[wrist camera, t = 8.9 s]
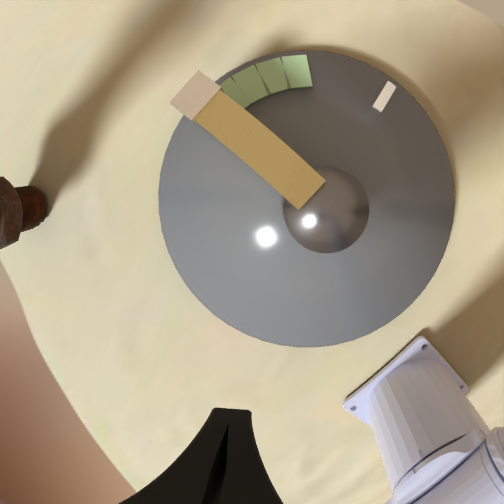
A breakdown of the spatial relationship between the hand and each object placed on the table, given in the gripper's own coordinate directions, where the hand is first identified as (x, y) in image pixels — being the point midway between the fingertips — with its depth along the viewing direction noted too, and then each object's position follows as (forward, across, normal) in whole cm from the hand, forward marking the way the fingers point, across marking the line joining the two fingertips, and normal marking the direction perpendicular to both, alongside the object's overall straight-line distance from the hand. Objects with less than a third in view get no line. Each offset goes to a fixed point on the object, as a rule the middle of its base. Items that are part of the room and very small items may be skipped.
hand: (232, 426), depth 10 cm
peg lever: (+9, -1, -10) cm, 13 cm away
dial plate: (+10, -4, -7) cm, 13 cm away
